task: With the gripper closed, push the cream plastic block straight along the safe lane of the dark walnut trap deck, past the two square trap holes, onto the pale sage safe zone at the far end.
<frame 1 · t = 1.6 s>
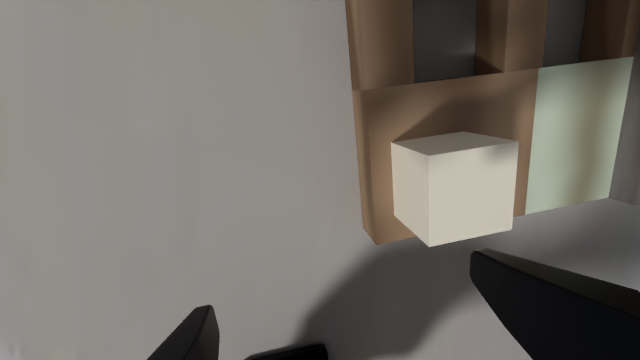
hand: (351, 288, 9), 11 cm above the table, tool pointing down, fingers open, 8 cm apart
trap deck: (484, 93, 20), on the table
block: (428, 174, 18), point 2 cm above the table, touching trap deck
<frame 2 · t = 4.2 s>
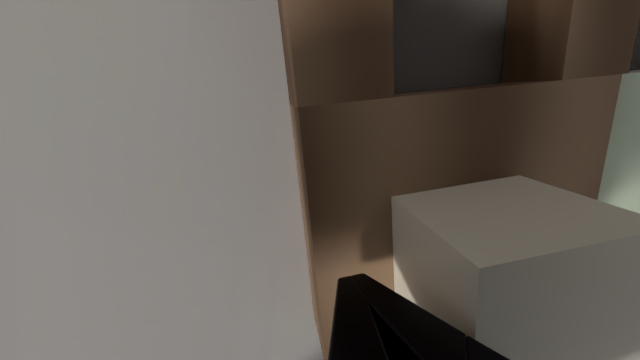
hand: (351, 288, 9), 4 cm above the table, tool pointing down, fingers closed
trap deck: (514, 113, 12), on the table
block: (455, 247, 10), point 3 cm above the table, touching gripper
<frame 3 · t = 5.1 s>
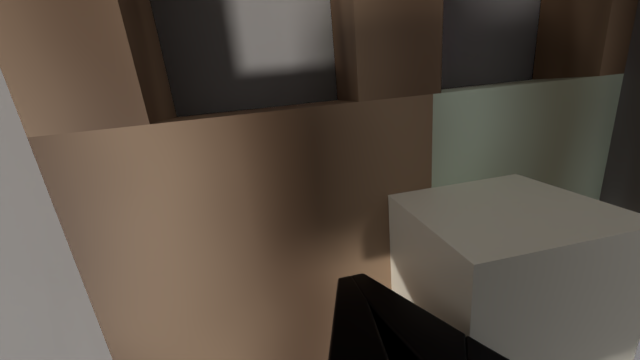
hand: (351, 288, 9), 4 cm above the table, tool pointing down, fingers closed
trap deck: (359, 132, 11), on the table
block: (451, 245, 10), point 3 cm above the table, touching gripper
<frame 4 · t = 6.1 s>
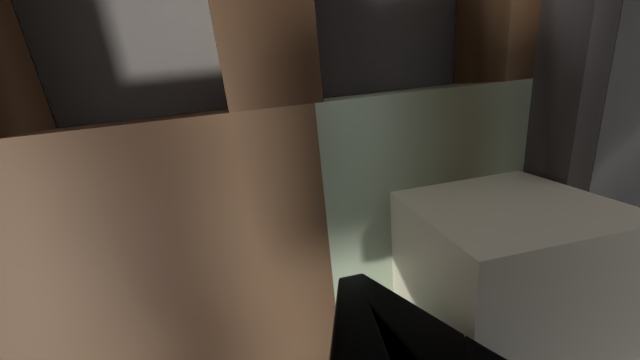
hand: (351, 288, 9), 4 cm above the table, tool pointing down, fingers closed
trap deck: (265, 141, 11), on the table
block: (454, 243, 10), point 2 cm above the table, touching gripper, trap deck
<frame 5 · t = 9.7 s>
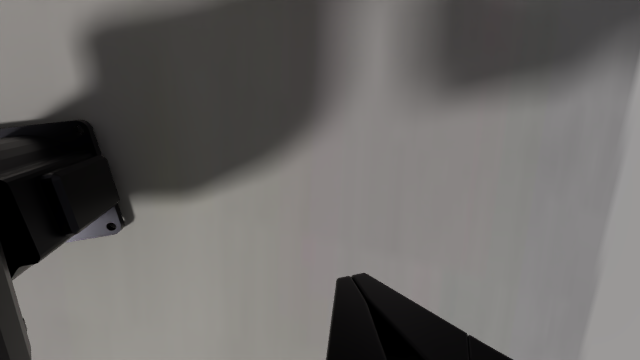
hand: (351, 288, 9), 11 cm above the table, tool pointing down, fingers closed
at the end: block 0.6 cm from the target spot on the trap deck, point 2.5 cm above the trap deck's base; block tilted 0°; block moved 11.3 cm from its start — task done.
